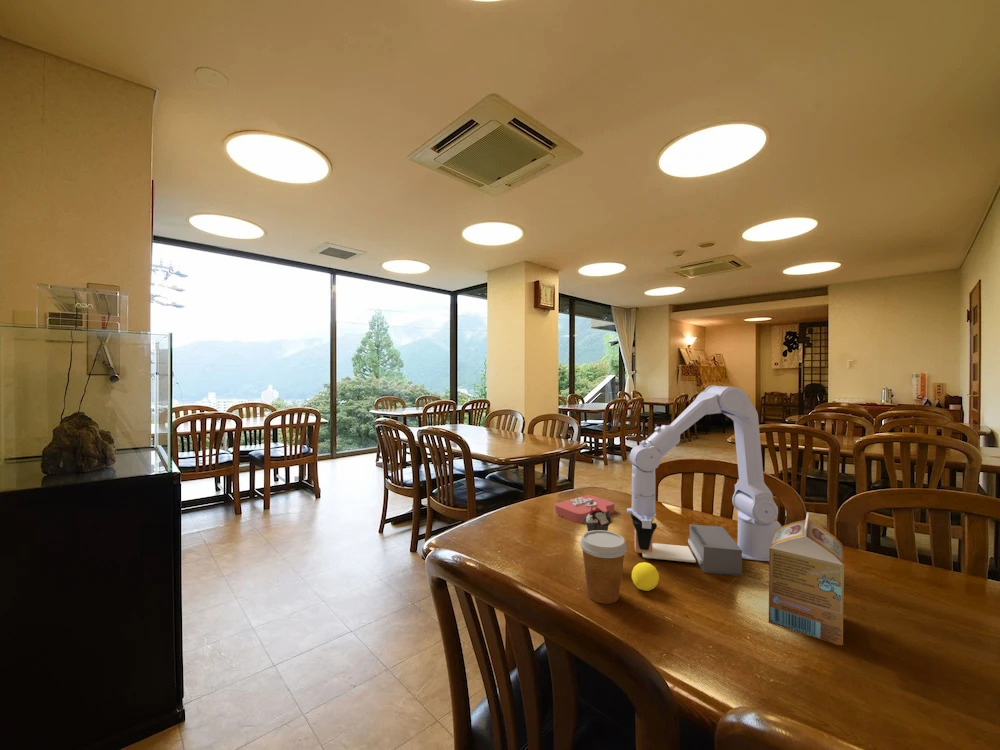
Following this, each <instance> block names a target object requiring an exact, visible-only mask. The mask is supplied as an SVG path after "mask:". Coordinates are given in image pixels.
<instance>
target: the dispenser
mask: <svg viewBox="0 0 1000 750" xmlns="http://www.w3.org/2000/svg"><path fill="white" fill-rule="evenodd" d="M687 542H688V545H689V549H690V551H691V553H692V554H693V556H694V558H695V560H696V562H697V563H698V564H699V565H698V566H699V567H700V569H701V570H702V572H703V573H707V574H713V573H714V575H716V574H717V575H723V574H726V575H725V576H733V575H735V577H742V576H743V575H742V571H743V570H742V569H743V566H742V565H743V559H742V550H741V549H740V547H739V546H738V545H737V544H738V543H736V541H735V540H734V539H733V538H732V536H731V535H730V534H729V533H728V531H727V530H726V529H725V527H724V526H717V525H704V524H703V525H701V524H694V523H693V524H689V538H688V539H687Z"/></svg>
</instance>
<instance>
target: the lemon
mask: <svg viewBox="0 0 1000 750" xmlns="http://www.w3.org/2000/svg"><path fill="white" fill-rule="evenodd" d="M631 579H632V583H633V584H634V586H636V588H637V589H639V590H641V591H645V592H650V591H651V590H653V589H655V588H656V586H657V585H658V583H659V581H660V574H659V571H658V570H657V568H656V566H654V565H652V564H651V563H649V562H645V561H643V562H638V563H637V564H636V565H635V566H634V567H633V569H632V570H631Z"/></svg>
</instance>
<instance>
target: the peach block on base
mask: <svg viewBox="0 0 1000 750" xmlns="http://www.w3.org/2000/svg"><path fill="white" fill-rule="evenodd" d="M634 551H635V553H639V554H642V558H643V559H645V558H646V559H655V560H667V561H676V562H685V563H697V560H696V558H695V556H694V554H693V552H692V550H691V548H690V546H688V545H678V544H677V545H676V544H670V543H669V544H668V543H667V544H665V543H656V542H653V537H652V538H651V542H650V547H649V550H641V549H640V548H639V544H638V537H637V532H636V529H635V528H634Z"/></svg>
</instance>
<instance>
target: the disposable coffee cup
mask: <svg viewBox="0 0 1000 750" xmlns="http://www.w3.org/2000/svg"><path fill="white" fill-rule="evenodd" d="M579 546H581V547H580V548H581V549H582V557H583V558H582V559H583V567H584V575H585V582H586V590H587V596H588V598H590V599H591V600H592V601H594V602H596V603H599V604H603V605H604V604H605V605H609V604H614V603H616V602H617V601H619V598H620V590H621V582H622V575H623V567H624V558H625V554H626V551H627V549H628V546H627V544H626V541H625V537H624V536H621V534H619V533H616V532H613V531H609V530H608V531H604V530H593V531H588V530H587V531H586V532H584V533H583V534H582V536H581V539H580V540H579Z"/></svg>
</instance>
